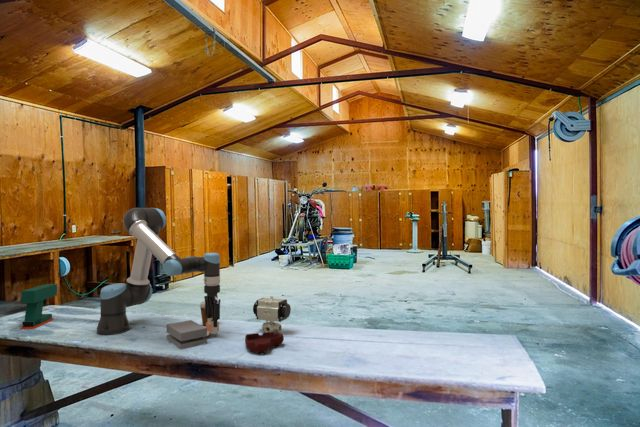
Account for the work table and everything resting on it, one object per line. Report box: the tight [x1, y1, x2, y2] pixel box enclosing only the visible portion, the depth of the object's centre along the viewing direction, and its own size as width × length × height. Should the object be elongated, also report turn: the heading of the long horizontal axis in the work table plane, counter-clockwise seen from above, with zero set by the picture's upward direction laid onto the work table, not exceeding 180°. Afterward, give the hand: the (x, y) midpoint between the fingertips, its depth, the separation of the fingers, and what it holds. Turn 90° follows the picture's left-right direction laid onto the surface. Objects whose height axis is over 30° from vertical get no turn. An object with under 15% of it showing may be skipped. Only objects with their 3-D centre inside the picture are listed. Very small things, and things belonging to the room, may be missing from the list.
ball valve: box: [252, 295, 292, 334], centre depth 200 cm, size 18×8×18 cm, turn 67°
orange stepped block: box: [205, 321, 220, 335], centre depth 191 cm, size 18×7×4 cm, turn 130°
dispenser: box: [165, 319, 210, 350], centre depth 187 cm, size 13×19×7 cm
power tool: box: [20, 283, 60, 330], centre depth 225 cm, size 32×7×20 cm, turn 6°
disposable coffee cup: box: [199, 300, 212, 327], centre depth 214 cm, size 10×10×12 cm
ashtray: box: [244, 331, 285, 355], centre depth 177 cm, size 18×16×5 cm
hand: (212, 332), depth 195 cm, fingers closed on orange stepped block, 4 cm apart
